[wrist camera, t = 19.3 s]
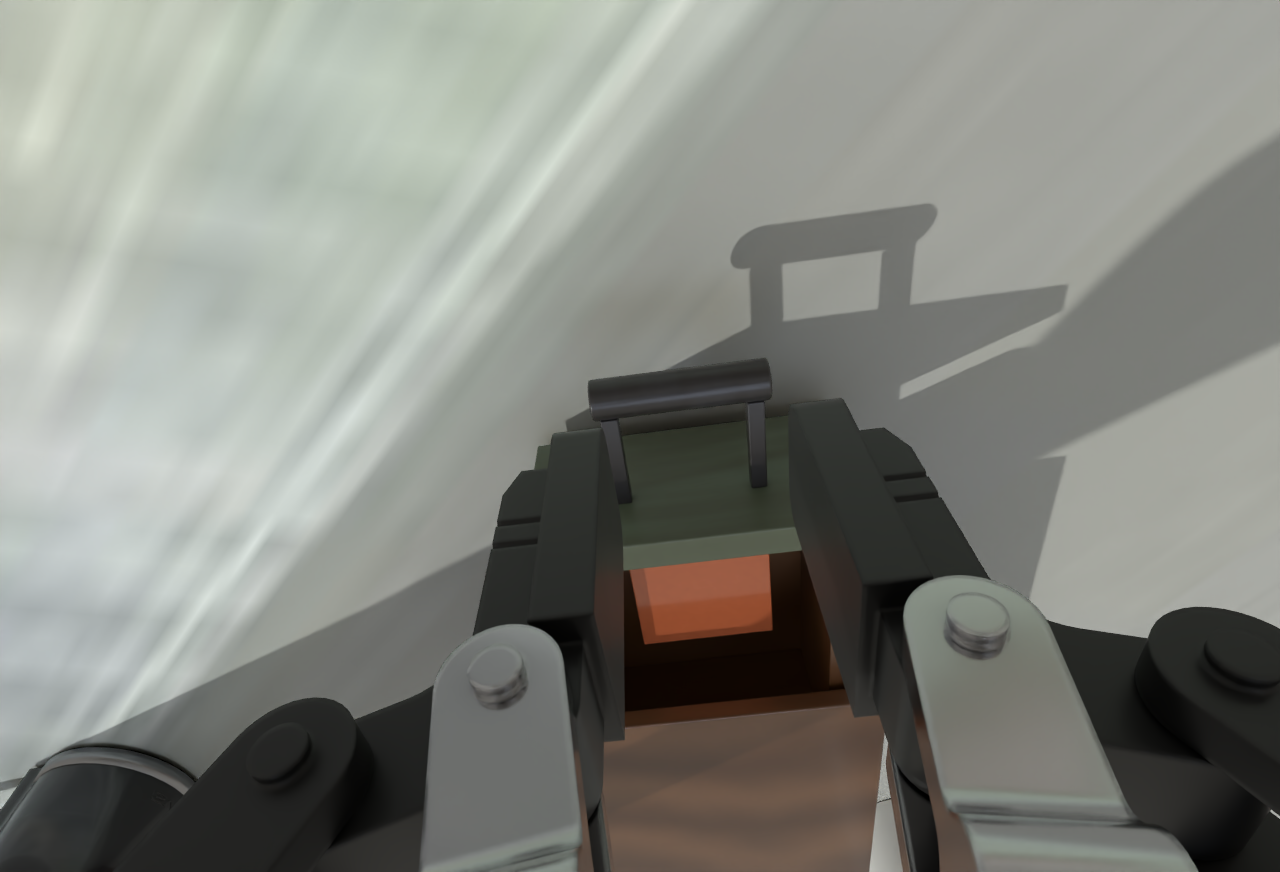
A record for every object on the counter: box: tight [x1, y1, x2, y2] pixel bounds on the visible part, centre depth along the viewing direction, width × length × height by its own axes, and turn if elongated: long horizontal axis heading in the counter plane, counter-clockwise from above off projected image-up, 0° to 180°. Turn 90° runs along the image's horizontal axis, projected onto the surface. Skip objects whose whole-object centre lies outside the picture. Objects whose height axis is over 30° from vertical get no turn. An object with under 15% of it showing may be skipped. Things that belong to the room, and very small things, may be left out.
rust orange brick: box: [629, 554, 773, 644], centre depth 30 cm, size 6×6×3 cm
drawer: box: [534, 358, 845, 711], centre depth 29 cm, size 20×12×7 cm, turn 8°
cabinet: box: [602, 689, 885, 872], centre depth 36 cm, size 16×14×9 cm
